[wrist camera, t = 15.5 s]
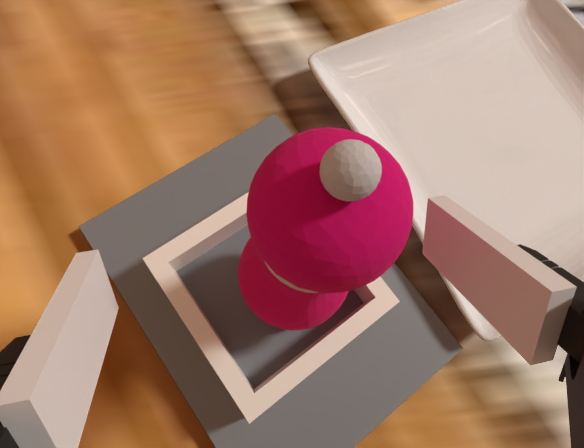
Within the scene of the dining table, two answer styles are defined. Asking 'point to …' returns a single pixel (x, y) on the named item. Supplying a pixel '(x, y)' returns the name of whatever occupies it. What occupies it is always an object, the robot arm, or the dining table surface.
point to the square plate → (477, 118)
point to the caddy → (248, 326)
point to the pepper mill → (321, 225)
